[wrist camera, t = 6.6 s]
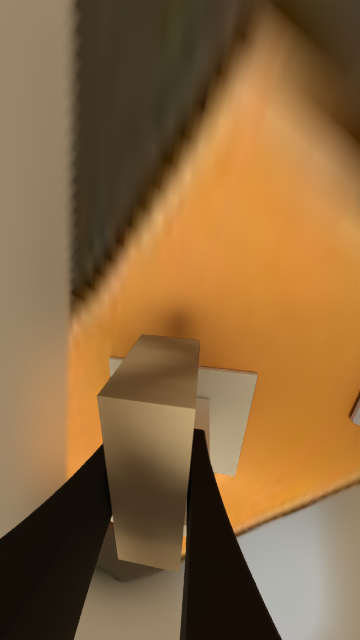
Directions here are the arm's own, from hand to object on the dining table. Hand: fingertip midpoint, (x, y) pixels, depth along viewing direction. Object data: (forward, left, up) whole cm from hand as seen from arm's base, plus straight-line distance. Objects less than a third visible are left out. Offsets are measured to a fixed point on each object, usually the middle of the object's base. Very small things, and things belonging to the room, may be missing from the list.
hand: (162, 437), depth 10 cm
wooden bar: (0, 0, -2) cm, 2 cm away
